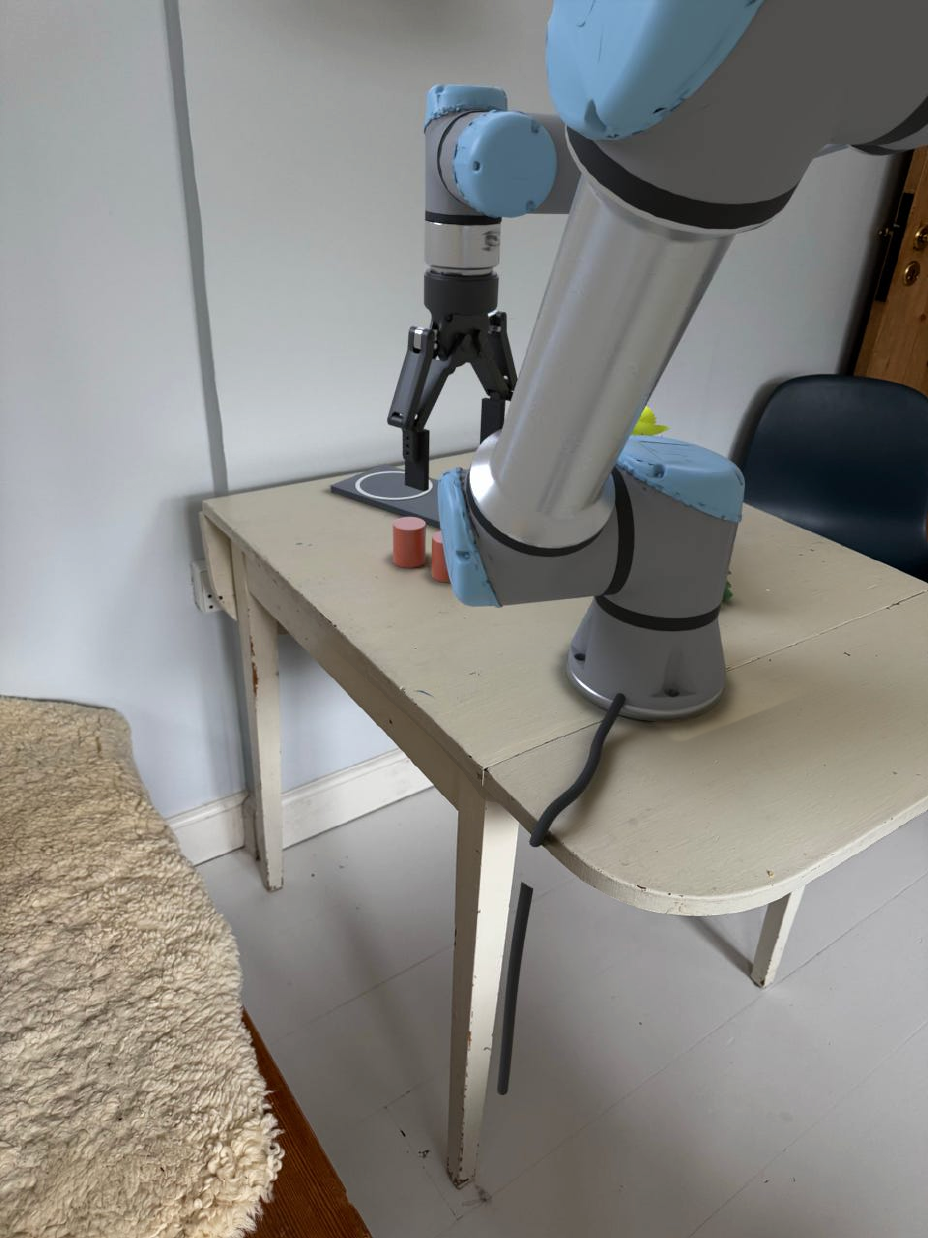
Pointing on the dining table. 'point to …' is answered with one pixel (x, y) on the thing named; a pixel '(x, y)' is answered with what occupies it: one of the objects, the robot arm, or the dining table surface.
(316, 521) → the dining table surface
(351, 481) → the slate board
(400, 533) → the red cylinder block
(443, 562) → the short coral cylinder
